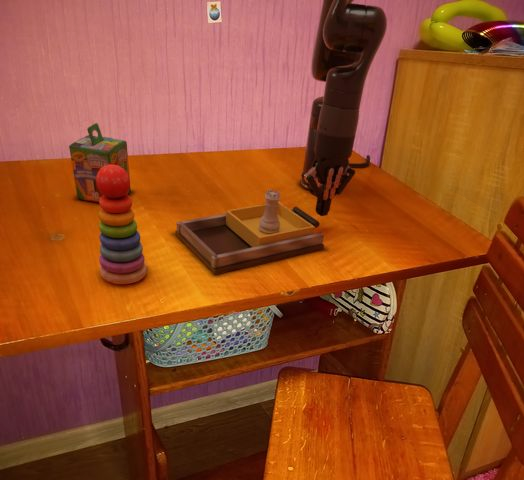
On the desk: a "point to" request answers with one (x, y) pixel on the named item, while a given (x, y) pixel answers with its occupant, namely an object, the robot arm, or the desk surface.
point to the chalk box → (95, 161)
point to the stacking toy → (118, 229)
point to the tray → (290, 226)
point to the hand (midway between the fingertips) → (321, 214)
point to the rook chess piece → (270, 213)
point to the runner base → (237, 245)
